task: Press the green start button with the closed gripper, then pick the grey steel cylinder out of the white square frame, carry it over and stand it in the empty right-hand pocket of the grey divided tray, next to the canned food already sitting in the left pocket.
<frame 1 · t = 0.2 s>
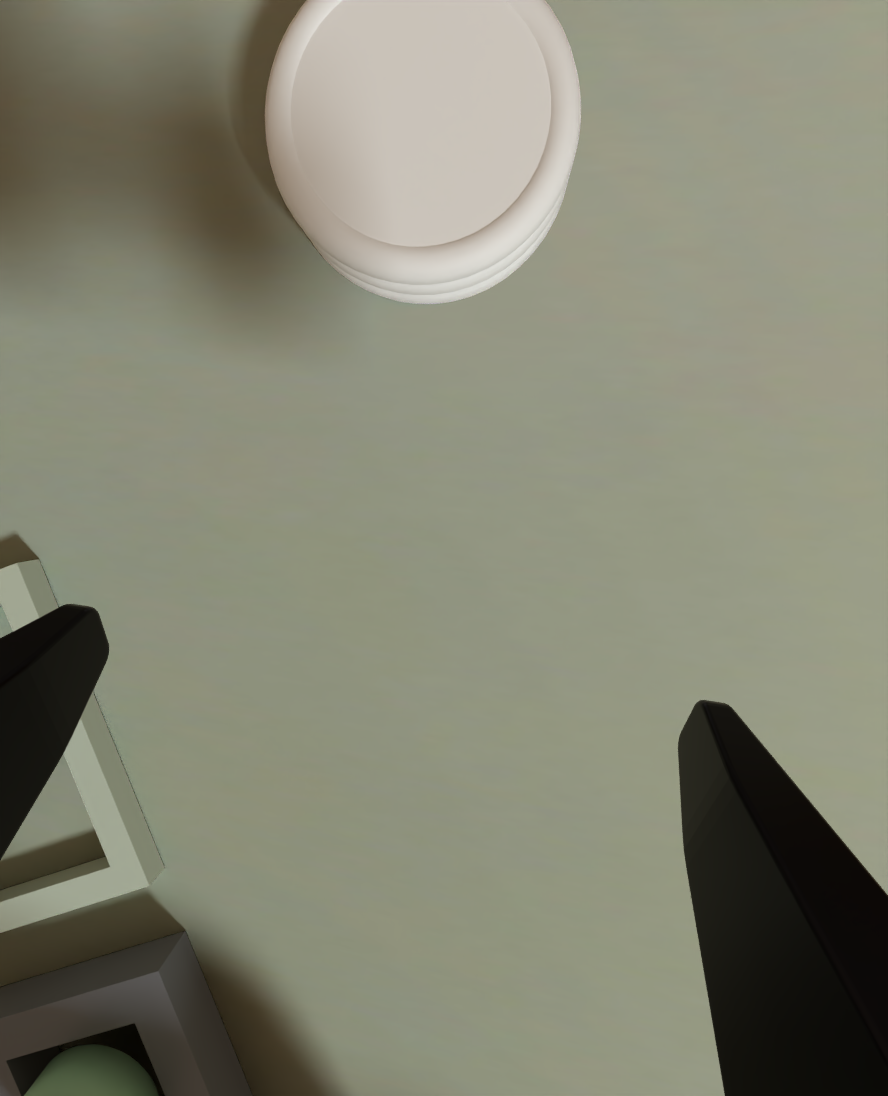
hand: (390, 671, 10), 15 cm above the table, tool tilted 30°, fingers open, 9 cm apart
button housing: (128, 1055, 27), on the table
coaster: (429, 167, 23), on the table
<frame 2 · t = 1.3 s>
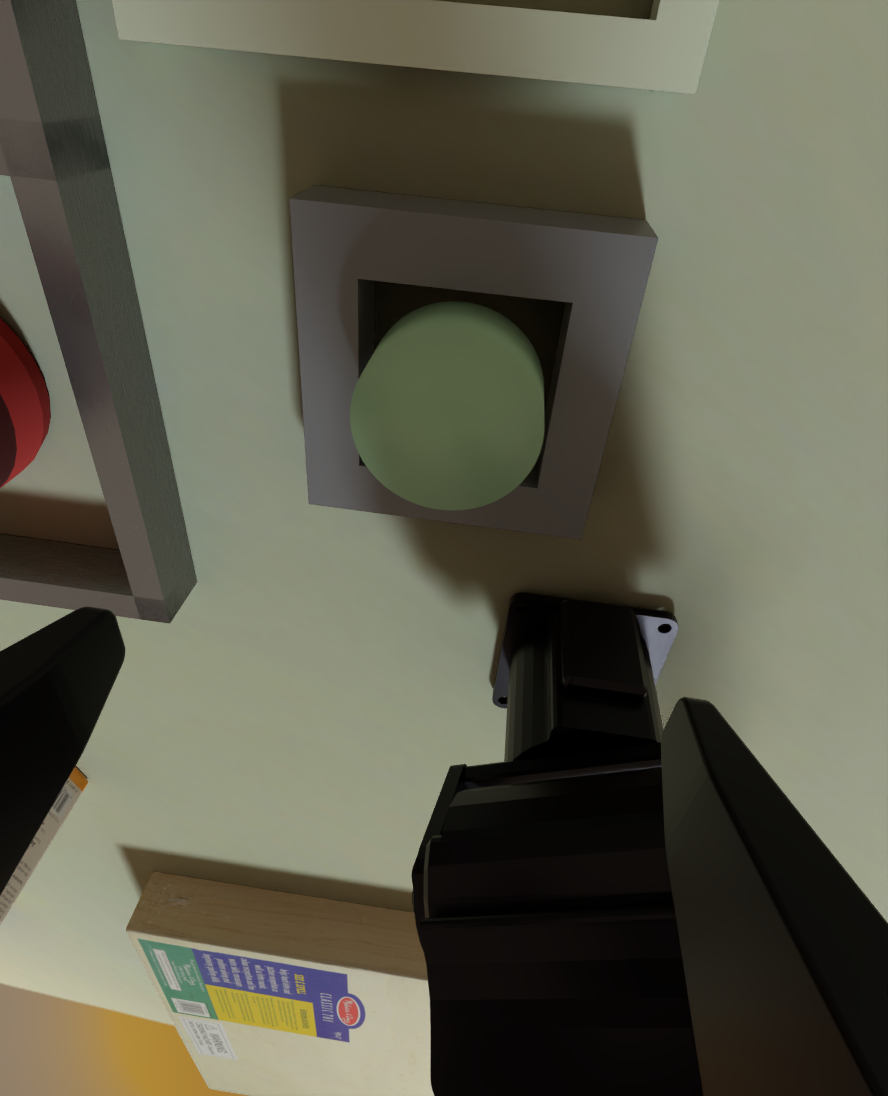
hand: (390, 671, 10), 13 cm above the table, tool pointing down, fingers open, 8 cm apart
start button: (450, 408, 17), point 3 cm above the table, slide at 0.0 cm
puzzle box: (333, 984, 55), on the table
button housing: (462, 363, 20), on the table
supplement box: (16, 757, 38), on the table
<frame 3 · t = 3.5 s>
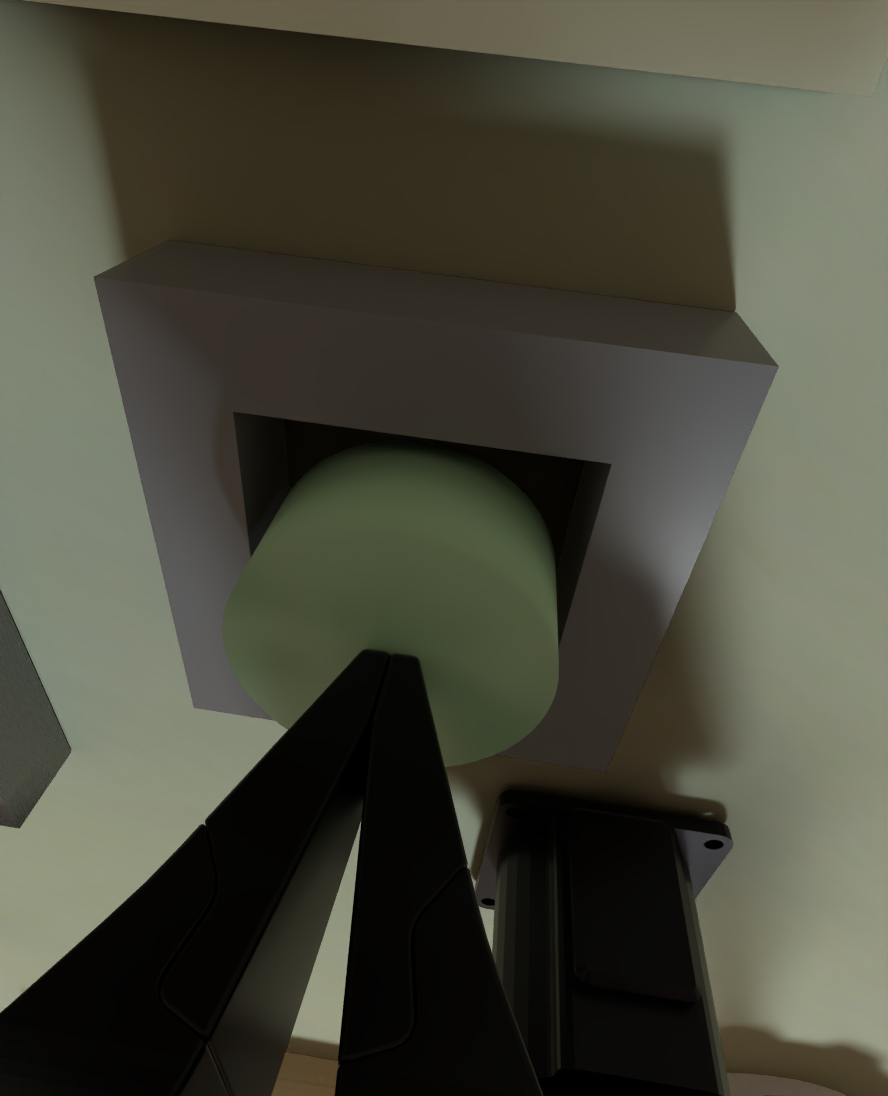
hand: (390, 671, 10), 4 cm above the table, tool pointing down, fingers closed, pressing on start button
start button: (401, 612, 10), point 3 cm above the table, slide at 0.3 cm, touching gripper
button housing: (427, 511, 13), on the table
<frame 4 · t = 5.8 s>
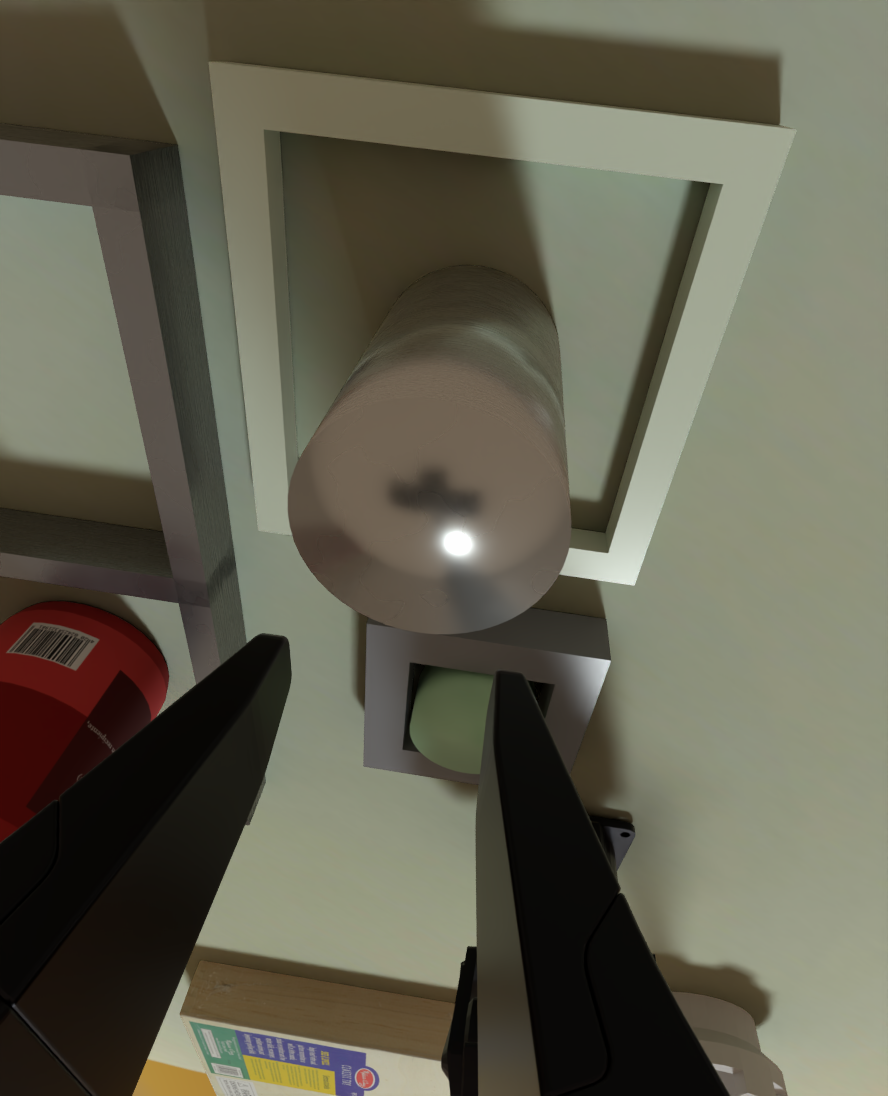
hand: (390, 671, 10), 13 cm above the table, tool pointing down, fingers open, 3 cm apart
start button: (474, 712, 27), point 2 cm above the table, slide at 1.5 cm
puzzle box: (348, 1044, 63), on the table
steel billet: (452, 427, 16), in the white square frame
canned food: (95, 653, 30), resting in grey divided tray
grey divided tray: (46, 526, 26), on the table
button housing: (477, 678, 28), on the table
white square frame: (468, 361, 20), on the table
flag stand: (674, 1018, 48), on the table
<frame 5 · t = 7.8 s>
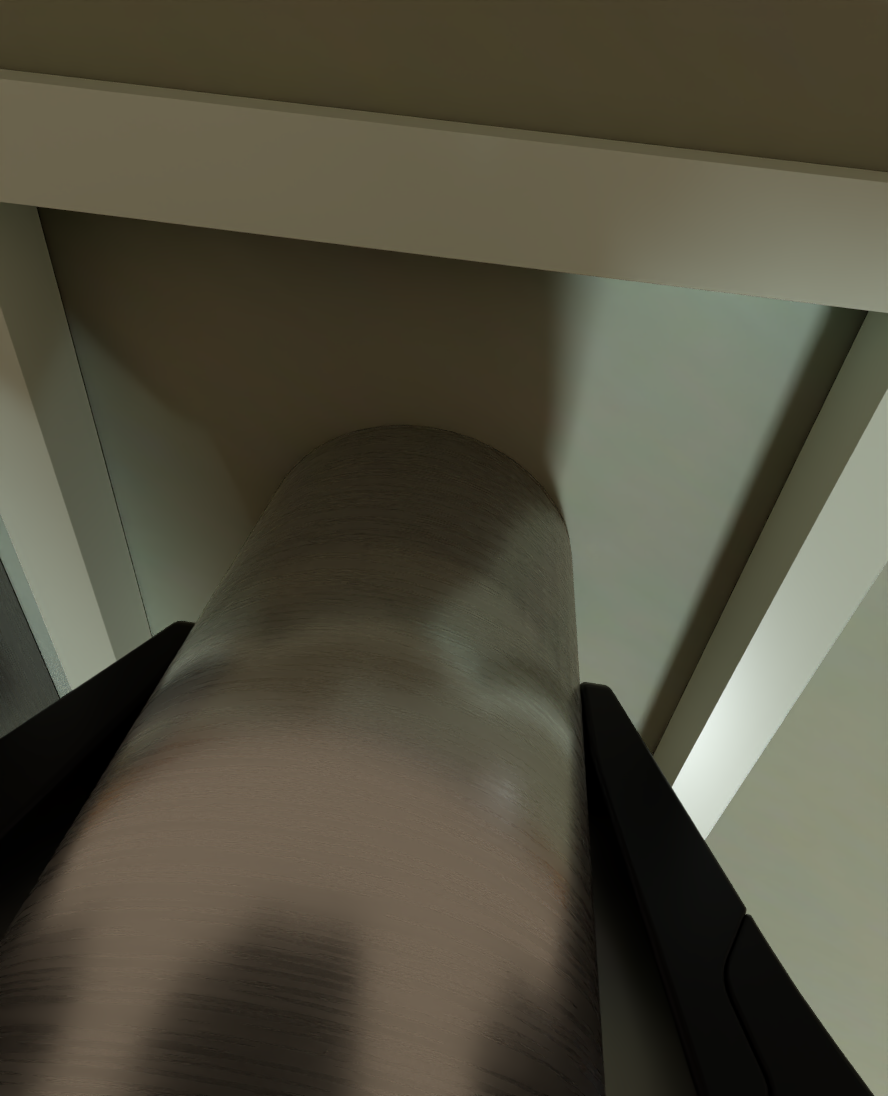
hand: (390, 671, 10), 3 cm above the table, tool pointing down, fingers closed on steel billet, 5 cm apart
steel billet: (361, 787, 8), in the white square frame, touching gripper
white square frame: (416, 564, 12), on the table
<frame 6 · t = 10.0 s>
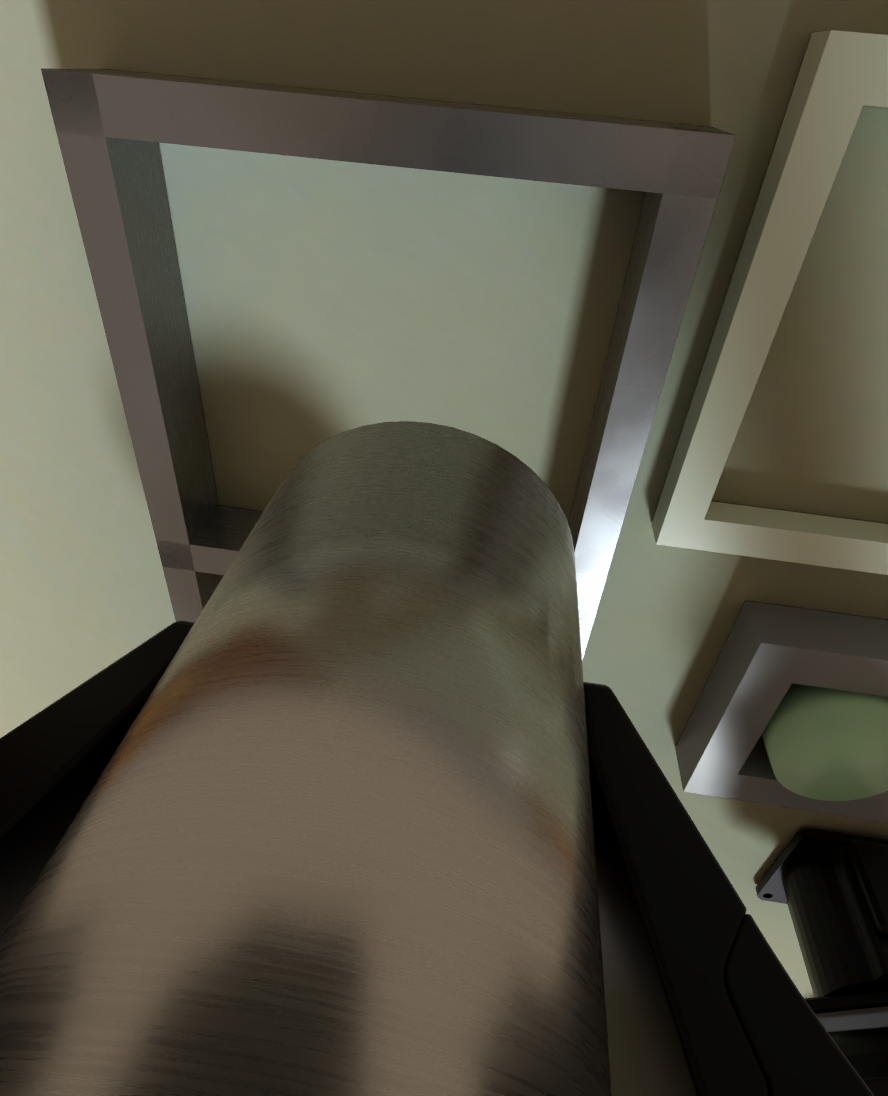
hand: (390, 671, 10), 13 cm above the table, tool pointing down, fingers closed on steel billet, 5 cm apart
start button: (834, 735, 25), point 2 cm above the table, slide at 1.5 cm
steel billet: (364, 784, 8), point 15 cm above the table, touching gripper
grey divided tray: (387, 541, 24), on the table
button housing: (818, 698, 26), on the table
when the fingers open (3 cm above the table, at t = 12.1 s): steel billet stays where it is, resting in grey divided tray.
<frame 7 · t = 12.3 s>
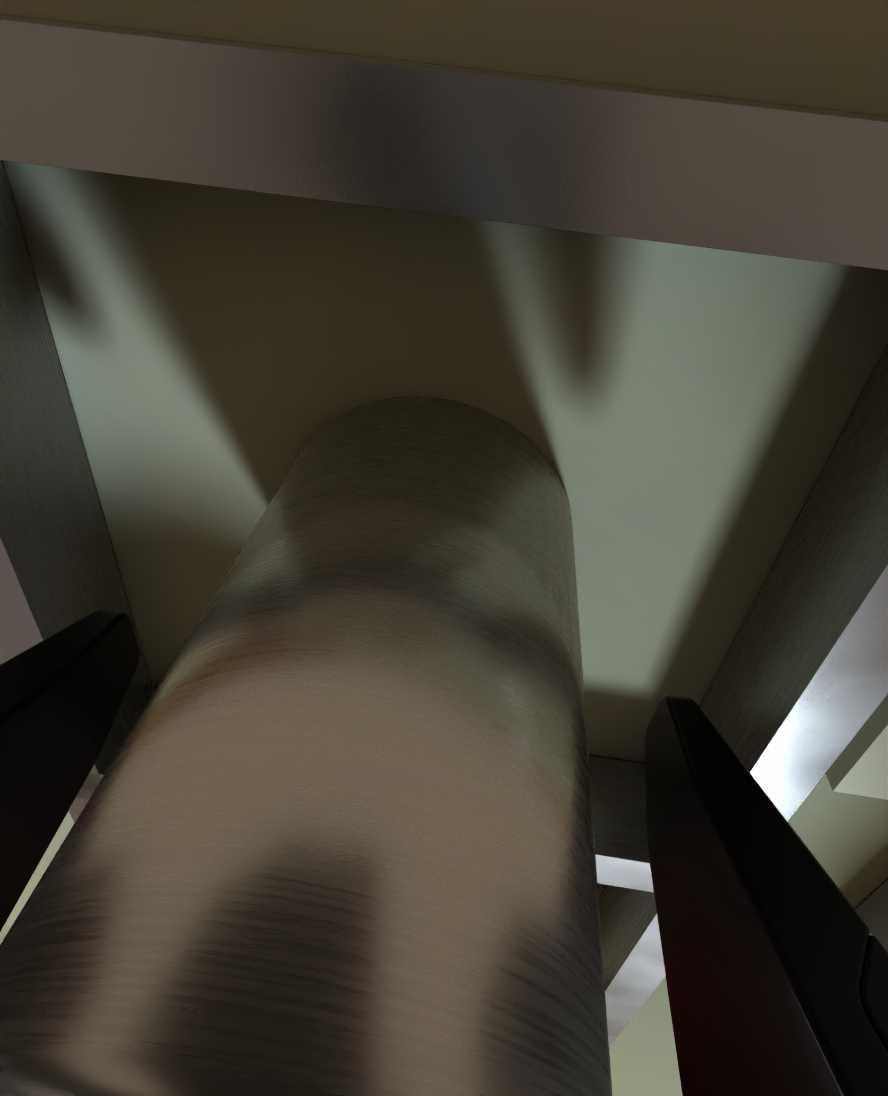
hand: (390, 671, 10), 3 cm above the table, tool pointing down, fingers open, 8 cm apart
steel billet: (380, 722, 9), in the grey divided tray
grey divided tray: (404, 741, 16), on the table
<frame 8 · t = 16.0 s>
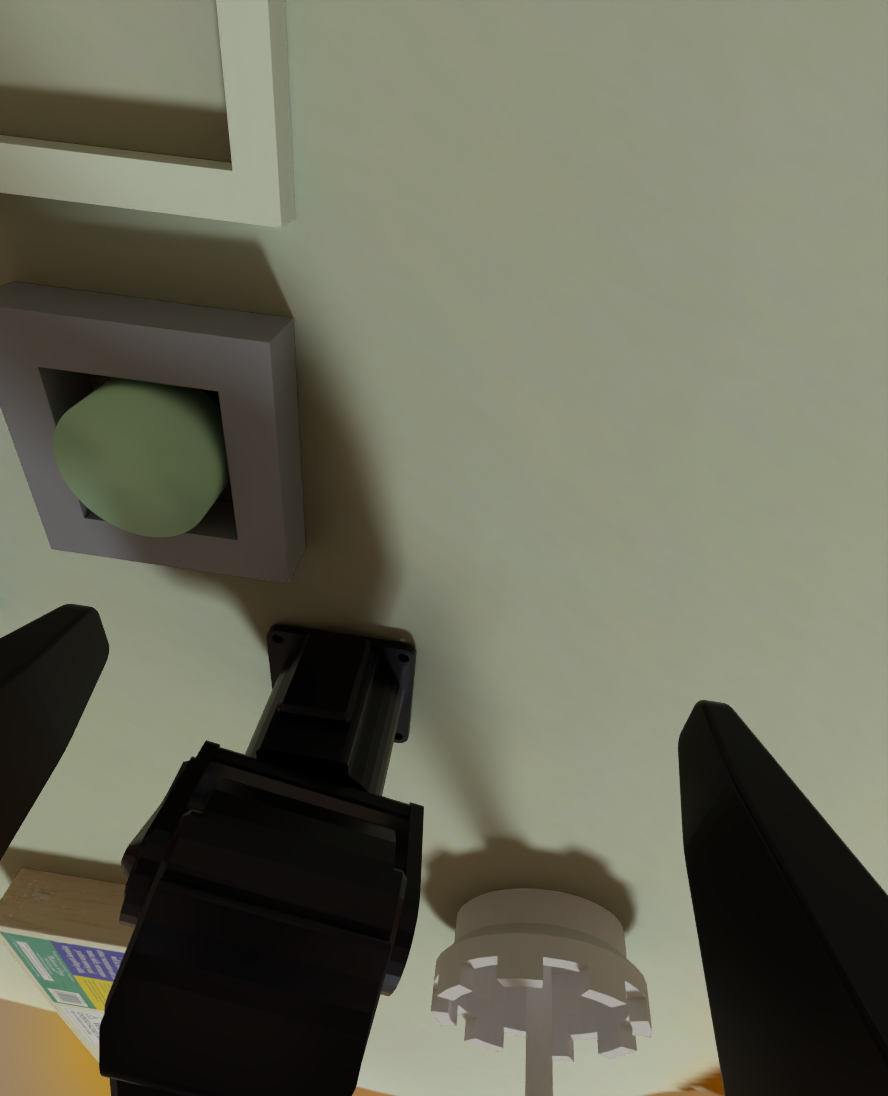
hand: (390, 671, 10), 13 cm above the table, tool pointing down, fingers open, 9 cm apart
start button: (150, 455, 21), point 2 cm above the table, slide at 1.5 cm
puzzle box: (218, 976, 57), on the table
button housing: (175, 429, 23), on the table
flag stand: (538, 925, 43), on the table
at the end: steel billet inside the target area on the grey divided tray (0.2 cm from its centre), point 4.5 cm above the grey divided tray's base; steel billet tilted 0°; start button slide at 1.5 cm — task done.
